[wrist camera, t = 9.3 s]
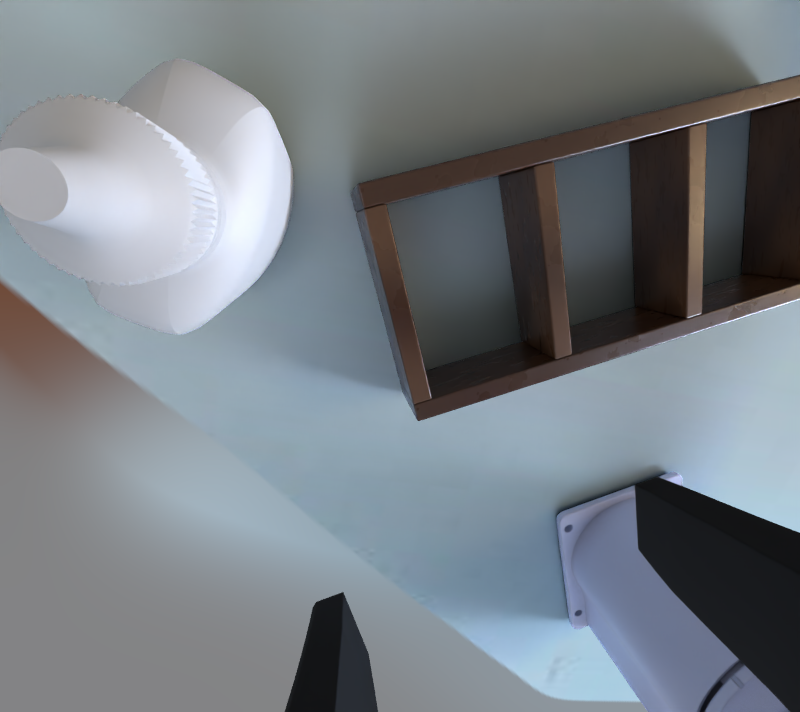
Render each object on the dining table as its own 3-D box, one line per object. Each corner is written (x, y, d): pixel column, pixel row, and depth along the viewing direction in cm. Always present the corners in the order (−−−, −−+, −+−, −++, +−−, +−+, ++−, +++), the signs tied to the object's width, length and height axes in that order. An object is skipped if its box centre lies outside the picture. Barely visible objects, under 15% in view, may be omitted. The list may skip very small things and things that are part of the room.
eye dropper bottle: (137, 211, 15) (-470, 150, 3) (260, 119, 14) (60, -270, 3) (223, 306, 16) (7, 484, 5) (334, 223, 16) (375, 209, 5)
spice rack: (752, 285, 21) (820, 293, 18) (402, 393, 19) (417, 422, 16) (766, 88, 18) (850, 62, 15) (349, 191, 16) (356, 183, 13)
